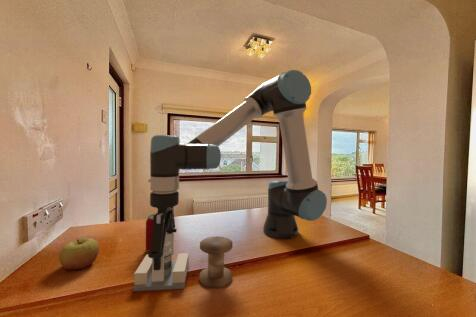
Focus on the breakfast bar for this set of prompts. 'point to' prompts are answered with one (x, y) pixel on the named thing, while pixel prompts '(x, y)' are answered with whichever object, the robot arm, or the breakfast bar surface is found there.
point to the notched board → (170, 281)
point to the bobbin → (215, 262)
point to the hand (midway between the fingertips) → (164, 266)
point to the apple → (79, 253)
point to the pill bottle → (167, 258)
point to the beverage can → (149, 231)
